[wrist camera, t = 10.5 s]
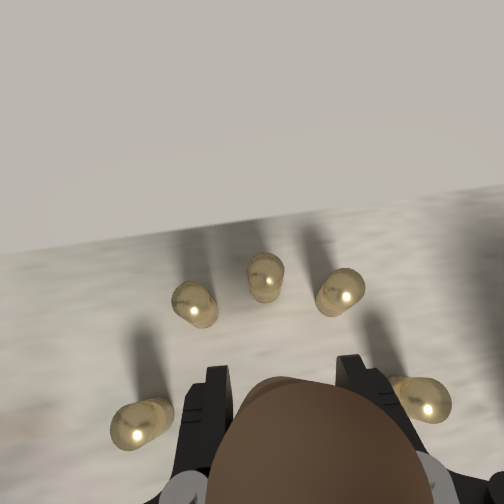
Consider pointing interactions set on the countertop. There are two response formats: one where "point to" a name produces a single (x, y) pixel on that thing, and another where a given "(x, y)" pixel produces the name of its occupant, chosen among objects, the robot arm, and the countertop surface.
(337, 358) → the robot arm
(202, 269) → the countertop surface
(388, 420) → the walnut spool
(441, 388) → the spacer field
